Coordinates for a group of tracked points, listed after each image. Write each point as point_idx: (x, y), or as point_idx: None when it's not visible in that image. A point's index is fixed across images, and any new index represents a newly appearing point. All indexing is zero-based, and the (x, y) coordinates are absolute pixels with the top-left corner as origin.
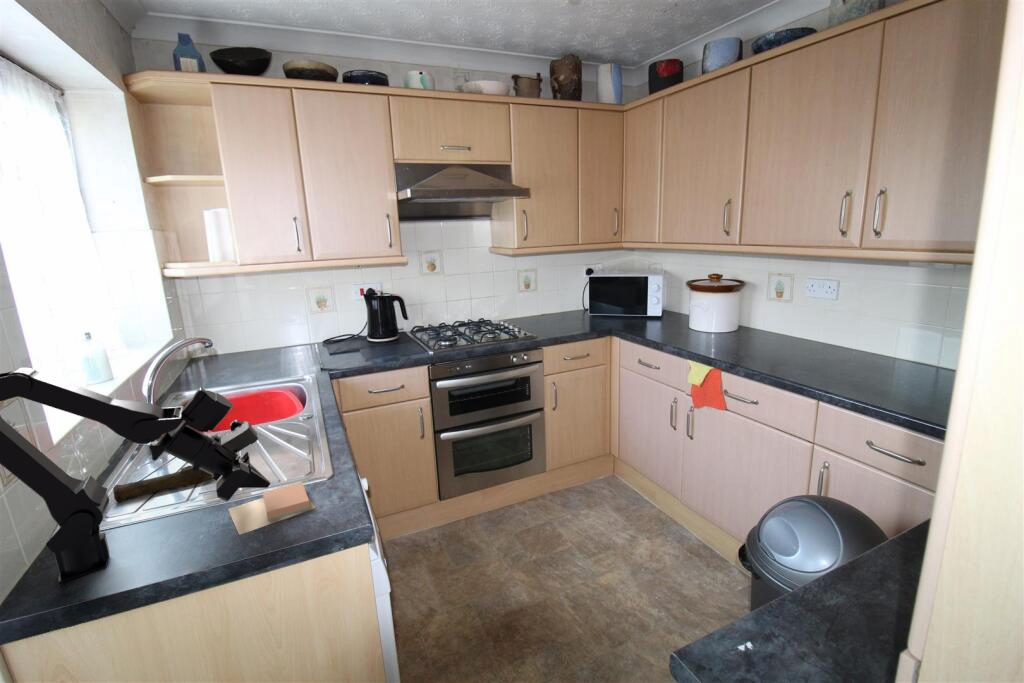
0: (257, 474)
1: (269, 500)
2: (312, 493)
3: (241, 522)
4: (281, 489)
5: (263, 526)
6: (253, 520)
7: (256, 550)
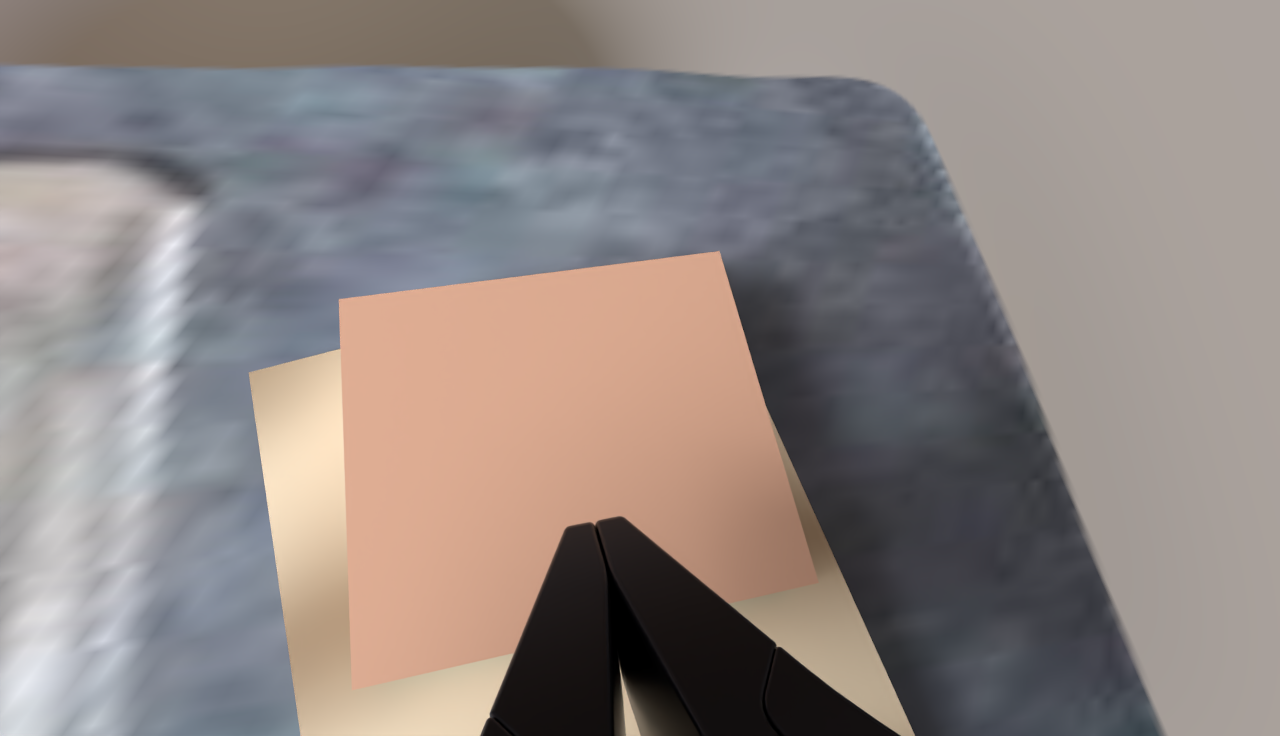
0: (778, 677)
1: None
2: None
3: None
4: (385, 484)
5: (859, 615)
6: None
7: (1069, 638)
